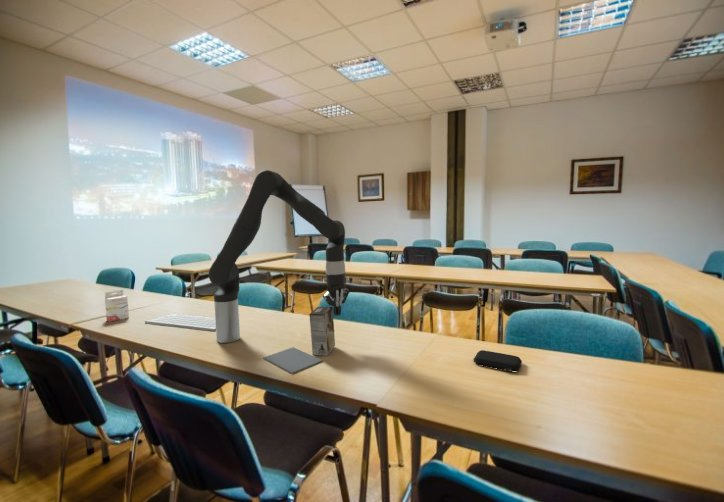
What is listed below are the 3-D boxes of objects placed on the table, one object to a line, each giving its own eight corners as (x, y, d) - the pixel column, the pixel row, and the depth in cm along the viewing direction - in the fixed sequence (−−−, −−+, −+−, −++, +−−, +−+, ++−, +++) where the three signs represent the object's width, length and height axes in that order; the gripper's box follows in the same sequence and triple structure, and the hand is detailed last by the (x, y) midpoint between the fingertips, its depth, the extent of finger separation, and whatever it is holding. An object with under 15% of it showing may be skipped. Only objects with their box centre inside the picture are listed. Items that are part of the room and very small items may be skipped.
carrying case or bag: (471, 367, 115) (519, 377, 108) (471, 358, 115) (519, 367, 107) (478, 355, 124) (522, 364, 117) (478, 347, 124) (522, 355, 117)
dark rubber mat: (263, 358, 124) (263, 357, 124) (293, 348, 133) (293, 347, 133) (292, 374, 111) (292, 372, 111) (322, 361, 121) (322, 360, 121)
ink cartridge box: (110, 322, 170) (107, 293, 169) (106, 320, 173) (103, 292, 172) (129, 317, 177) (127, 290, 176) (125, 316, 180) (123, 289, 179)
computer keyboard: (240, 321, 171) (240, 318, 170) (212, 333, 153) (212, 330, 153) (176, 313, 186) (176, 310, 185) (144, 324, 168) (144, 321, 168)
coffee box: (320, 345, 135) (317, 306, 133) (335, 345, 134) (333, 306, 132) (311, 355, 126) (309, 313, 124) (328, 356, 125) (325, 314, 123)
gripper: (341, 268, 139) (342, 309, 141) (316, 273, 130) (318, 317, 132) (354, 270, 134) (355, 312, 136) (329, 275, 125) (331, 321, 127)
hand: (337, 315), depth 134 cm, fingers closed
